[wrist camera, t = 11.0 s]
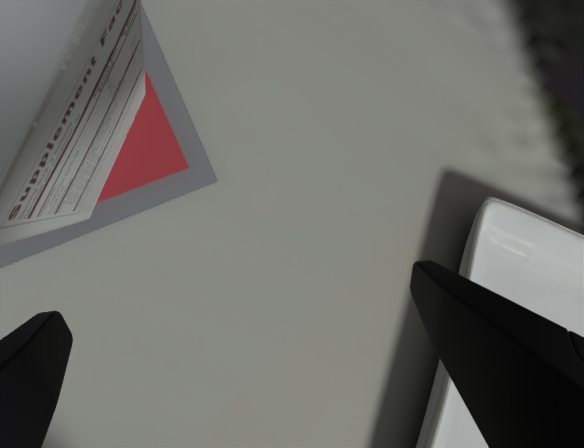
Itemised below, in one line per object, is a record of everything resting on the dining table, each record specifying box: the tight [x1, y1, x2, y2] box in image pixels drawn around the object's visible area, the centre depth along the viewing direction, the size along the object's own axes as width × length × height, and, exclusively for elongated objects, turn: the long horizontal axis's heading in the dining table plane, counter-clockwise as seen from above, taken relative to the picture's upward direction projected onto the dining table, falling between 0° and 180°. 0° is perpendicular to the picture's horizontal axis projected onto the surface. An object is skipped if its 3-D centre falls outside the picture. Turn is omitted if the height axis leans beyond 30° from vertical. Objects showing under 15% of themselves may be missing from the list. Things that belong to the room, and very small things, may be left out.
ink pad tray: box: [0, 4, 218, 268], centre depth 17 cm, size 12×12×1 cm
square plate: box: [416, 197, 584, 448], centre depth 31 cm, size 27×27×4 cm
